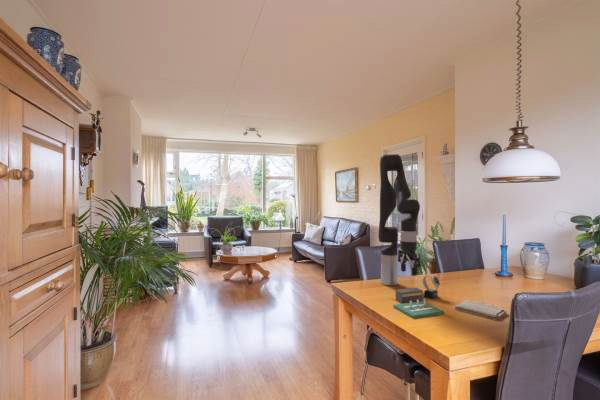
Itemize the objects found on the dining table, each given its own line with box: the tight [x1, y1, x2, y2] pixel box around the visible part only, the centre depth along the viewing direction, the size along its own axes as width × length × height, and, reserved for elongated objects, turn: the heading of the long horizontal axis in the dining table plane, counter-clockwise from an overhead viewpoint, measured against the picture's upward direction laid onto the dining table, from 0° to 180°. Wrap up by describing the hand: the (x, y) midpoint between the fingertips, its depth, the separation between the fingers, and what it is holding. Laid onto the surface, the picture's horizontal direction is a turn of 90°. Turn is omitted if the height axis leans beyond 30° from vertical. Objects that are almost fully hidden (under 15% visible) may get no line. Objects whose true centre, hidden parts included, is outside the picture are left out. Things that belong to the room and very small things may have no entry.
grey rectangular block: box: [395, 287, 424, 304], centre depth 157 cm, size 12×5×5 cm, turn 108°
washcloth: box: [454, 299, 508, 321], centre depth 141 cm, size 12×18×3 cm, turn 40°
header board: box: [392, 298, 445, 319], centre depth 143 cm, size 14×16×5 cm
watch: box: [422, 274, 441, 300], centre depth 162 cm, size 6×8×11 cm
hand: (408, 273), depth 157 cm, fingers open, 8 cm apart
